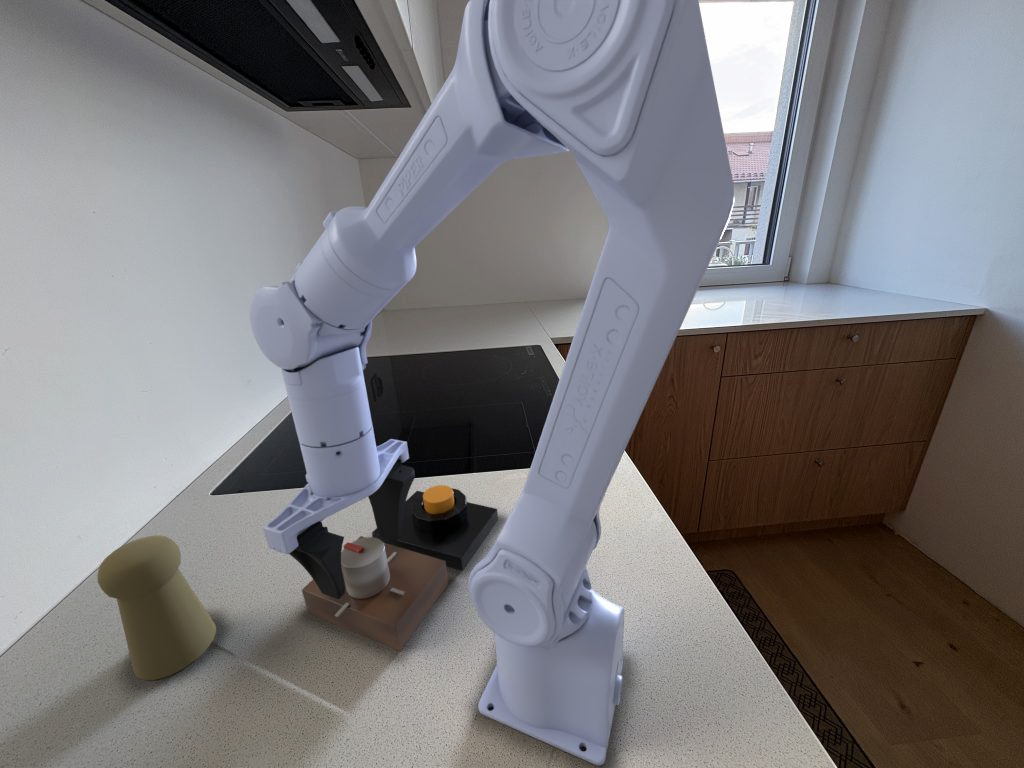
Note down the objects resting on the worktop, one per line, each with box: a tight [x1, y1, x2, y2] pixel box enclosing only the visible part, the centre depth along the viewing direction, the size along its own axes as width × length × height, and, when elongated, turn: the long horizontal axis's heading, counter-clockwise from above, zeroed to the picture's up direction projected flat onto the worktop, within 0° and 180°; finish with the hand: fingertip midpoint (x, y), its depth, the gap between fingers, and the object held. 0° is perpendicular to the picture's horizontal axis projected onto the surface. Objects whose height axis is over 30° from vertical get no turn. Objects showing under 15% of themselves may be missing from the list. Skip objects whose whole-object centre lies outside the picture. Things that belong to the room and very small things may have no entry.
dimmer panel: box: [301, 535, 449, 652], centre depth 41 cm, size 11×9×3 cm
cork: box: [96, 534, 217, 681], centre depth 36 cm, size 6×6×11 cm
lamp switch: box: [371, 487, 499, 572], centre depth 50 cm, size 12×9×4 cm
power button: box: [423, 484, 455, 514], centre depth 51 cm, size 4×4×2 cm
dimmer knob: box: [341, 536, 390, 599], centre depth 39 cm, size 4×4×4 cm
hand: (364, 562), depth 39 cm, fingers open, 7 cm apart
